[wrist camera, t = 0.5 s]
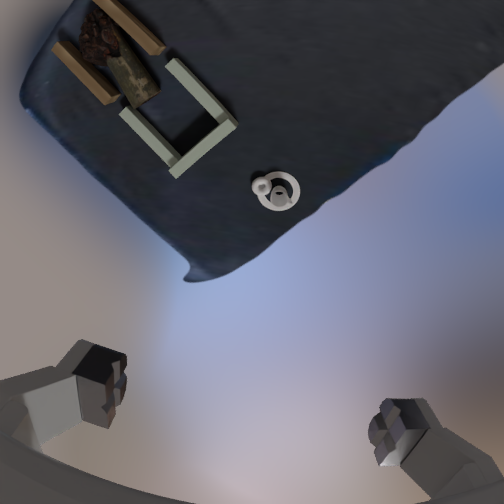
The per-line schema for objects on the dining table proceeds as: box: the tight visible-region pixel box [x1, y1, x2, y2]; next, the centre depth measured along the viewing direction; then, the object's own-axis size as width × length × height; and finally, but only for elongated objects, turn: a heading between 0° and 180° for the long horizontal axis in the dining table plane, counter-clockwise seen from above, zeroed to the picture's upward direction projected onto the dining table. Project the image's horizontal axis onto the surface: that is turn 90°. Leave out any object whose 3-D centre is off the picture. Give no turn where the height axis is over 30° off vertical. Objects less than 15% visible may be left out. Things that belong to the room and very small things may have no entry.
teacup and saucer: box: [252, 172, 351, 211], centre depth 58 cm, size 9×8×4 cm
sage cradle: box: [119, 58, 238, 179], centre depth 50 cm, size 14×16×4 cm
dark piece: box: [79, 9, 161, 109], centre depth 43 cm, size 21×8×7 cm, turn 27°
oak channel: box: [52, 0, 166, 105], centre depth 42 cm, size 14×17×4 cm
